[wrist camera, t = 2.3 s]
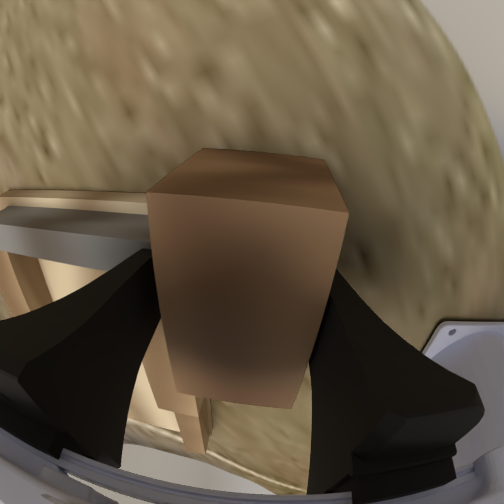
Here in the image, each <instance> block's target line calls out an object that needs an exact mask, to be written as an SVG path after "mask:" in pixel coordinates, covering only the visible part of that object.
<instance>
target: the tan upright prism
mask: <svg viewBox="0 0 504 504" xmlns="http://www.w3.org/2000/svg"><path fill="white" fill-rule="evenodd" d="M146 198H147V210H148V221H149V232H150V241H151V250H152V258H153V266H154V273H155V281H156V288H157V294H158V301H159V307H160V313H161V319H162V324H163V330H164V335H165V340H166V345H167V350H168V355H169V360H170V365H171V369H172V374H173V378H174V383H175V387H176V391H177V392H178V393H182V394H187V395H192V396H197V397H203V398H208V399H214V400H220V401H226V402H233V403H240V404H247V405H255V406H264V407H274V408H285V409H292V407H293V405H294V402H295V399H296V396H297V394H298V391H299V388H300V385H301V382H302V380H303V377H304V374H305V371H306V368H307V365H308V362H309V359H310V356H311V353H312V350H313V347H314V343H315V340H316V337H317V334H318V331H319V327H320V324H321V321H322V317H323V314H324V311H325V307H326V304H327V300H328V297H329V293H330V289H331V286H332V282H333V278H334V274H335V271H336V267H337V263H338V259H339V255H340V251H341V247H342V243H343V238H344V234H345V230H346V225H347V221H348V216H349V212H348V209H347V207H346V205H345V203H344V200H343V198H342V196H341V194H340V192H339V190H338V188H337V186H336V183H335V181H334V179H333V177H332V175H331V173H330V171H329V169H328V167H327V165H326V163H325V161H324V160H321V159H314V158H307V157H299V156H291V155H282V154H273V153H263V152H252V151H240V150H227V149H210V148H202V149H201V150H200V151H198V152H197V153H196V154H194V155H193V156H192V157H190V158H189V159H188V160H186V161H185V162H184V163H182V164H181V165H180V166H178V167H177V168H176V169H175V170H173V171H172V172H171V173H169V174H168V175H167V176H166V177H164V178H163V179H162V180H161V181H159V182H158V183H157V184H156V185H154V186H153V187H152V188H151V189H150V190H148V191H147V192H146Z"/></svg>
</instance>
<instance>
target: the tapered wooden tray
mask: <svg viewBox="0 0 504 504" xmlns="http://www.w3.org/2000/svg"><path fill="white" fill-rule="evenodd" d="M0 210H1V211H0V291H1V293H2V295H3V298H4V300H5V302H6V304H7V306H8V308H9V310H10V312H11V314H12V316H13V317H15V316H19V315H22V314H25V313H27V312H30V311H33V310H36V309H38V308H40V307H43V306H45V305H47V304H49V303H52V302H54V301H56V300H59V299H61V298H63V297H65V296H67V295H69V294H71V293H72V292H74V291H76V290H78V289H80V288H82V287H83V286H85V285H87V284H88V283H90V282H92V281H93V280H95V279H96V278H98V277H99V276H101V275H103V274H104V273H106V272H107V271H109V270H111V269H112V268H113V267H115V266H116V265H118V264H119V263H121V262H122V261H124V260H125V259H127V258H128V257H130V256H131V255H133V254H134V253H136V252H137V251H139V250H140V249H142V248H144V249H151V241H150V232H149V221H148V210H147V198H146V194H144V193H125V192H103V191H71V190H8V191H7V192H5V193H3V194H2V195H0ZM127 418H130V419H133V420H137V421H140V422H144V423H147V424H151V425H154V426H158V427H162V428H166V429H170V430H174V431H179V432H181V435H182V438H183V441H184V444H185V447H186V450H187V451H191V452H196V453H201V454H206V450H207V445H208V441H209V438H211V434H212V430H213V425H212V415H211V403H210V399H208V398H203V397H197V396H192V395H187V394H182V393H178V392H177V391H176V387H175V383H174V378H173V374H172V369H171V365H170V360H169V355H168V350H167V345H166V340H165V335H164V330H163V324H162V319H160V321H159V323H158V326H157V328H156V330H155V333H154V335H153V337H152V340H151V342H150V344H149V346H148V349H147V351H146V353H145V356H144V358H143V361H142V363H141V366H140V369H139V372H138V375H137V379H136V383H135V386H134V390H133V394H132V398H131V403H130V407H129V412H128V417H127Z"/></svg>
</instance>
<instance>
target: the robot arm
mask: <svg viewBox="0 0 504 504" xmlns="http://www.w3.org/2000/svg"><path fill="white" fill-rule="evenodd" d="M160 319H161V313H160V307H159V301H158V294H157V288H156V281H155V273H154V266H153V258H152V250H151V249H144V248H142V249H140V250H139V251H137V252H136V253H134V254H133V255H131V256H130V257H128V258H127V259H125V260H124V261H122V262H121V263H119V264H118V265H116V266H115V267H113V268H112V269H111V270H109V271H107V272H106V273H104V274H103V275H101V276H99V277H98V278H96V279H95V280H93V281H92V282H90V283H88V284H87V285H85V286H83V287H82V288H80V289H78V290H76V291H74V292H72V293H71V294H69V295H67V296H65V297H63V298H61V299H59V300H56V301H54V302H52V303H49V304H47V305H45V306H43V307H40V308H38V309H36V310H33V311H30V312H27V313H25V314H22V315H19V316H15V317H12V318H9V319H5V320H1V321H0V502H1V503H2V504H118V502H117V501H114V500H112V499H110V498H108V497H106V496H104V495H102V494H100V493H98V492H97V491H95V490H94V489H93V488H91V487H89V486H87V485H85V484H83V483H81V482H79V481H77V480H74V479H72V478H70V477H69V476H68V474H67V473H69V474H71V475H73V476H75V477H78V478H80V479H82V480H85V481H88V482H90V483H92V484H95V485H97V486H100V487H103V488H106V489H108V490H111V491H114V492H117V493H120V494H123V495H127V496H130V497H133V498H136V499H140V500H144V501H147V502H151V503H155V504H504V322H458V321H445V322H442V323H441V324H440V325H439V326H438V327H437V328H436V330H435V332H434V334H433V335H432V337H431V339H430V340H429V342H428V344H427V345H426V347H425V349H424V350H423V352H422V353H421V352H420V351H418V350H417V349H416V348H414V347H413V346H412V345H410V344H409V343H408V342H406V341H405V340H404V339H403V338H401V337H400V336H399V335H398V334H397V333H396V332H394V331H393V330H392V329H391V328H390V327H389V326H388V325H387V324H385V323H384V322H383V321H382V320H381V319H380V318H379V317H378V316H377V315H376V314H375V313H374V312H373V311H372V310H371V309H370V307H369V306H368V305H367V304H366V303H365V302H364V301H363V300H362V299H361V298H360V297H359V295H358V294H357V293H356V292H355V291H354V290H353V288H352V287H351V286H350V285H349V284H348V282H347V281H346V280H345V279H344V277H343V276H342V275H341V274H340V272H339V271H338V270H337V269H336V271H335V274H334V278H333V282H332V286H331V289H330V293H329V297H328V300H327V304H326V307H325V311H324V314H323V317H322V321H321V324H320V327H319V331H318V334H317V337H316V340H315V343H314V347H313V350H312V353H311V356H310V359H309V368H310V376H311V386H312V435H311V454H310V468H309V478H308V487H307V495H263V494H245V493H235V492H225V491H217V490H210V489H203V488H196V487H191V486H185V485H180V484H174V483H170V482H166V481H161V480H157V479H153V478H149V477H145V476H141V475H138V474H134V473H131V472H127V471H124V470H121V469H118V468H120V467H121V457H122V449H123V441H124V434H125V428H126V422H127V417H128V412H129V407H130V403H131V398H132V394H133V390H134V386H135V383H136V379H137V375H138V372H139V369H140V366H141V363H142V361H143V358H144V356H145V353H146V351H147V349H148V346H149V344H150V342H151V340H152V337H153V335H154V333H155V330H156V328H157V326H158V323H159V321H160Z"/></svg>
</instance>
